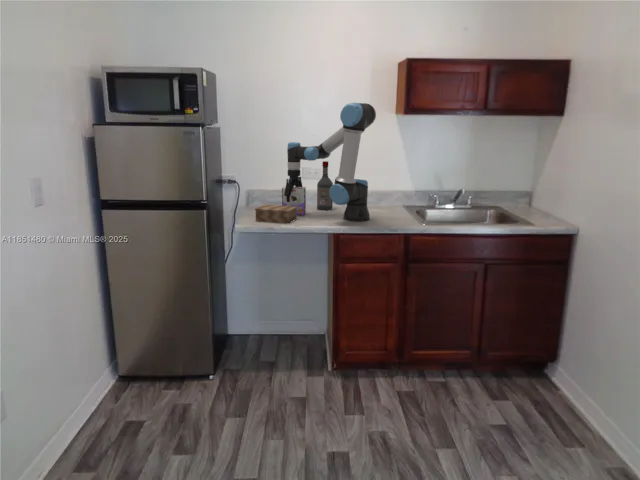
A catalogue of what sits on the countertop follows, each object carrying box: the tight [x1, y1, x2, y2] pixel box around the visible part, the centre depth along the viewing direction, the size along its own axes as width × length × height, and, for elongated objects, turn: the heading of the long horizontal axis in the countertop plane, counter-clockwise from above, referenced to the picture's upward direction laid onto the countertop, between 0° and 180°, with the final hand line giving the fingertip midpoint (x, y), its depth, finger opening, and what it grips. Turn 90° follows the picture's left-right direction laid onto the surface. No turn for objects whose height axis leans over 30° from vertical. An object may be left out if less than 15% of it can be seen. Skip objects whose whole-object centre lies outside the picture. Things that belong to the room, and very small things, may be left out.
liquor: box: [316, 160, 334, 211], centre depth 304 cm, size 9×9×30 cm
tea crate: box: [254, 203, 297, 224], centre depth 273 cm, size 20×14×7 cm
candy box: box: [281, 186, 307, 216], centre depth 288 cm, size 14×6×16 cm, turn 84°
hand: (294, 205), depth 289 cm, fingers open, 12 cm apart
